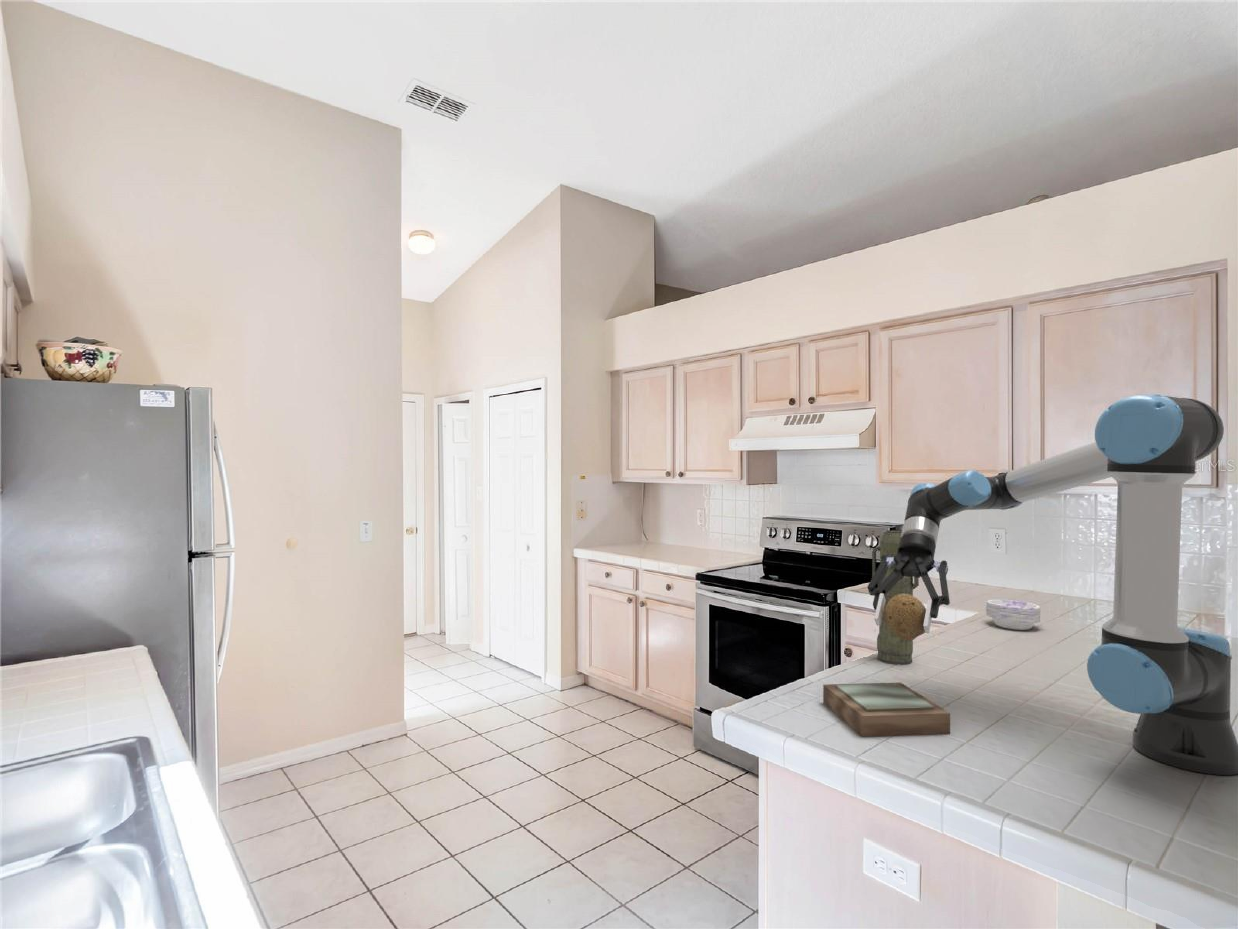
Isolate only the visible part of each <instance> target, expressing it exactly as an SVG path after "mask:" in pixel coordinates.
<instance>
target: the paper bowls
mask: <svg viewBox="0 0 1238 929" xmlns="http://www.w3.org/2000/svg"><path fill="white" fill-rule="evenodd" d="M985 609H986V611H985V612H986V613H985V614H986V616H988V618H991V619H992V621H993V623H994V624H995V625H996V626H997V627H1000V628H1002V629H1008V630H1013V631H1014V630H1015V631H1026V630H1031V629H1032V628H1033V627H1034V624H1035V623H1040V622H1041V606H1040V605H1038V604H1035V603H1032V602H1027V601H1022V600H1021V601H1019V600H1012V599H1011V600H1010V599H987V601H986V607H985Z"/></svg>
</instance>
